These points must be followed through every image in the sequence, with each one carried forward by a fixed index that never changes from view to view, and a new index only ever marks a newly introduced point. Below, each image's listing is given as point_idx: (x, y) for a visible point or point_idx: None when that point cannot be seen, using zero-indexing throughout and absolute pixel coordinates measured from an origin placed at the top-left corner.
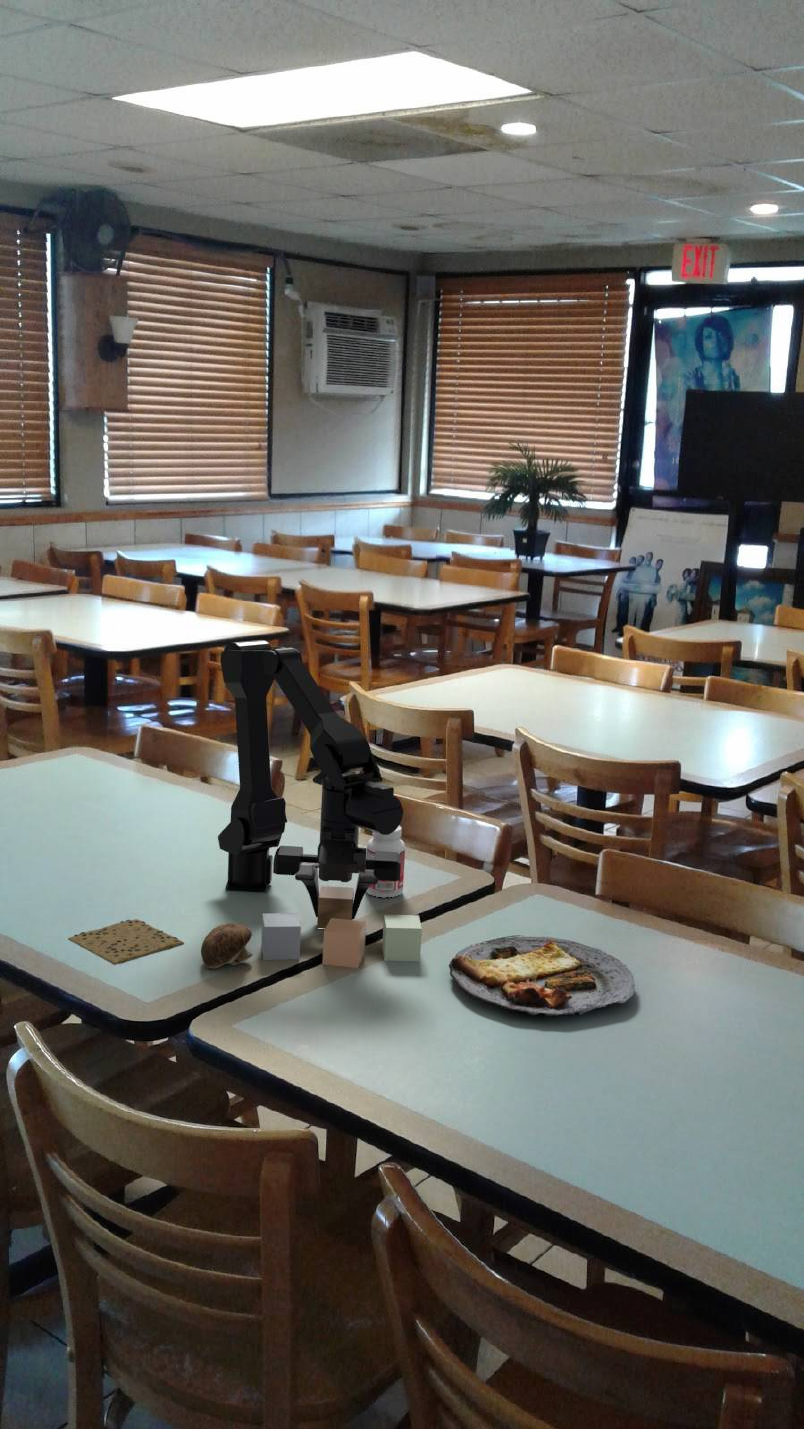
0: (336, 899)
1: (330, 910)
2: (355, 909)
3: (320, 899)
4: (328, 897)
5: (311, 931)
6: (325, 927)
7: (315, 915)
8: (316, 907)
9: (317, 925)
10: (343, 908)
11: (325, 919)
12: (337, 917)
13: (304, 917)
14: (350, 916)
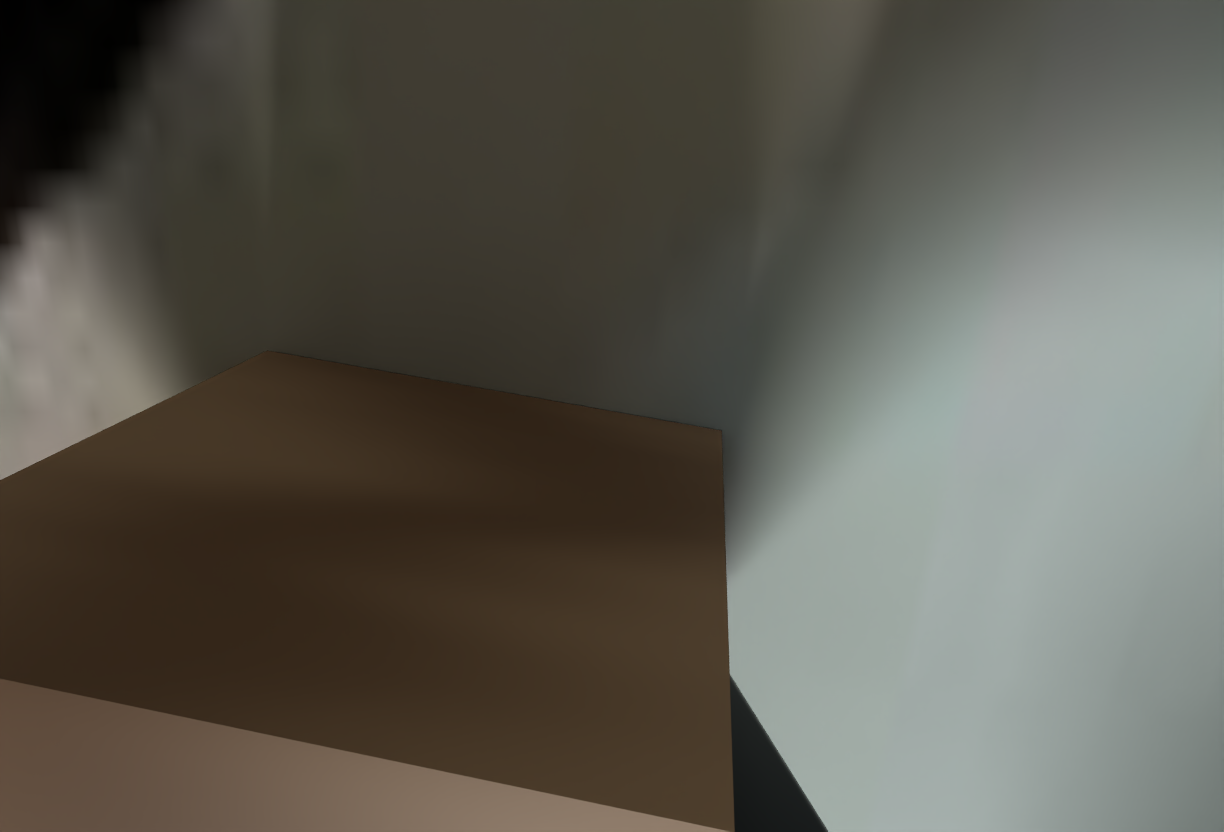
0: (192, 690)
1: (462, 545)
2: None
3: (671, 763)
4: (417, 802)
5: (813, 360)
6: (601, 421)
7: (730, 675)
8: None
9: (718, 455)
10: (163, 523)
11: (588, 477)
12: (373, 458)
13: (831, 797)
14: (130, 425)
